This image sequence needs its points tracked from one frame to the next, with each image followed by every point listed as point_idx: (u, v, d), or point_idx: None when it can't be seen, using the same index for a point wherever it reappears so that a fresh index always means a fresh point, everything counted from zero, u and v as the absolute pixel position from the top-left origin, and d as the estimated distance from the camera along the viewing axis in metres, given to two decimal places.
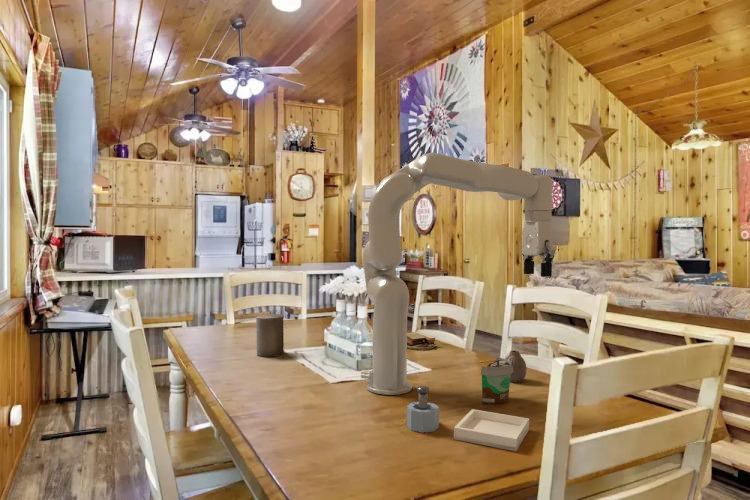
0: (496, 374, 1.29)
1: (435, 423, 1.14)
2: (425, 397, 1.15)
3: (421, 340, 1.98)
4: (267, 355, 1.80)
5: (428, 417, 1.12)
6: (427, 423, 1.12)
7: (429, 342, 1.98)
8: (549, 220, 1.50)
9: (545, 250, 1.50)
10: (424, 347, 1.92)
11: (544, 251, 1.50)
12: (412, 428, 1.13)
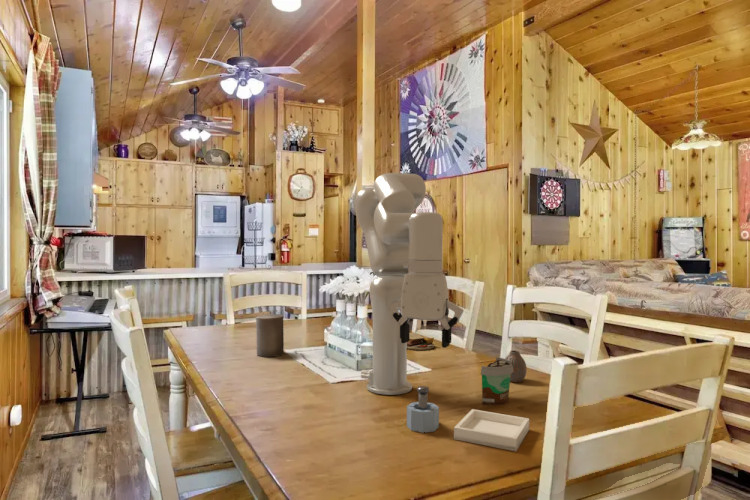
0: (496, 374, 1.29)
1: (435, 423, 1.14)
2: (425, 397, 1.15)
3: (420, 340, 1.98)
4: (267, 355, 1.80)
5: (428, 417, 1.12)
6: (427, 423, 1.12)
7: (427, 342, 1.98)
8: None
9: None
10: (423, 347, 1.92)
11: None
12: (412, 428, 1.13)
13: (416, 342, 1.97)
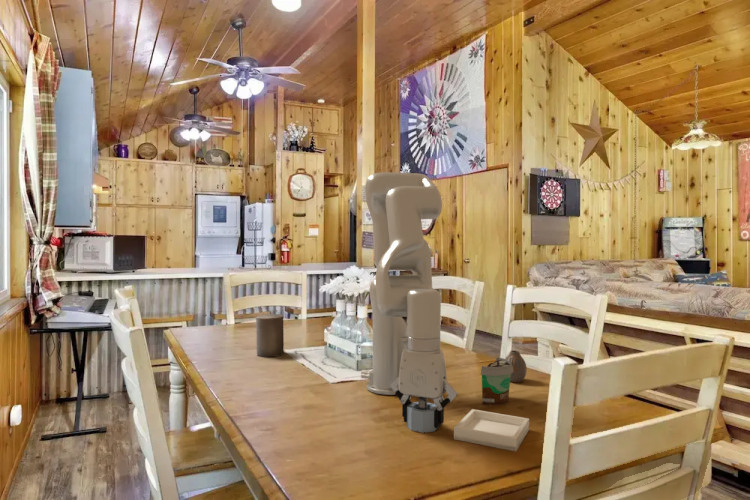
0: (496, 374, 1.29)
1: None
2: None
3: None
4: (267, 355, 1.80)
5: (428, 417, 1.12)
6: (427, 423, 1.12)
7: None
8: None
9: None
10: None
11: None
12: (412, 428, 1.13)
13: None
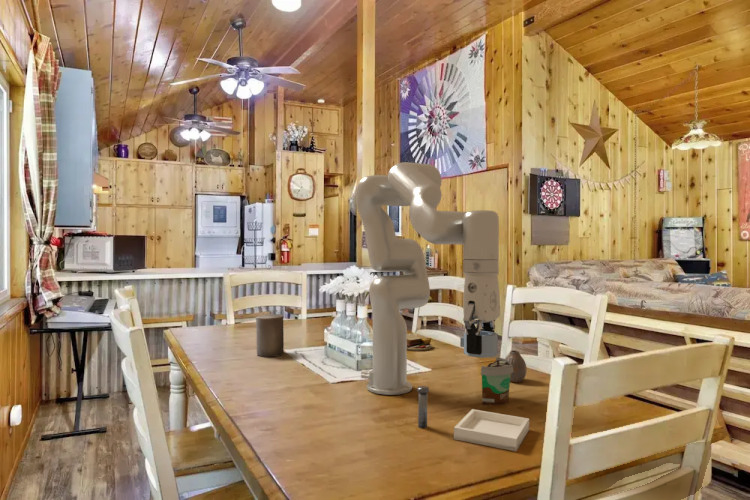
0: (496, 374, 1.29)
1: None
2: (425, 397, 1.15)
3: (417, 341, 1.97)
4: (267, 355, 1.80)
5: None
6: None
7: (425, 343, 1.97)
8: None
9: None
10: (422, 348, 1.91)
11: None
12: (493, 354, 1.09)
13: (414, 343, 1.96)
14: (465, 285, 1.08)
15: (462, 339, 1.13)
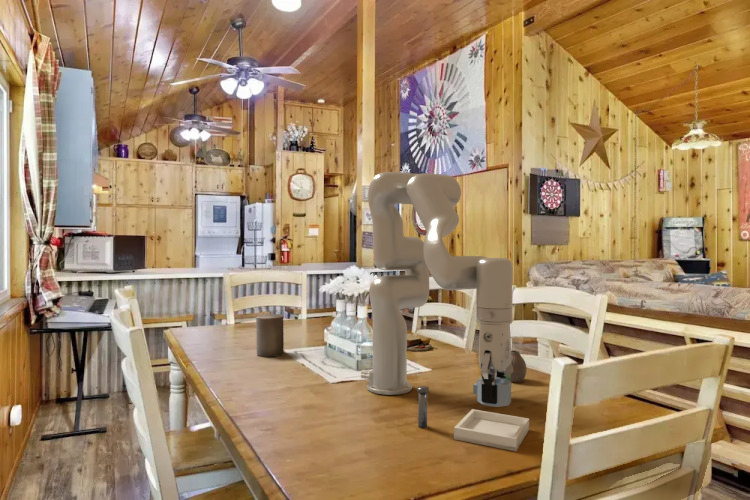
0: None
1: None
2: (425, 397, 1.15)
3: (416, 341, 1.96)
4: (267, 355, 1.80)
5: None
6: None
7: (424, 343, 1.97)
8: None
9: None
10: (421, 348, 1.91)
11: None
12: (508, 403, 1.08)
13: (413, 343, 1.95)
14: (480, 334, 1.08)
15: (475, 386, 1.12)
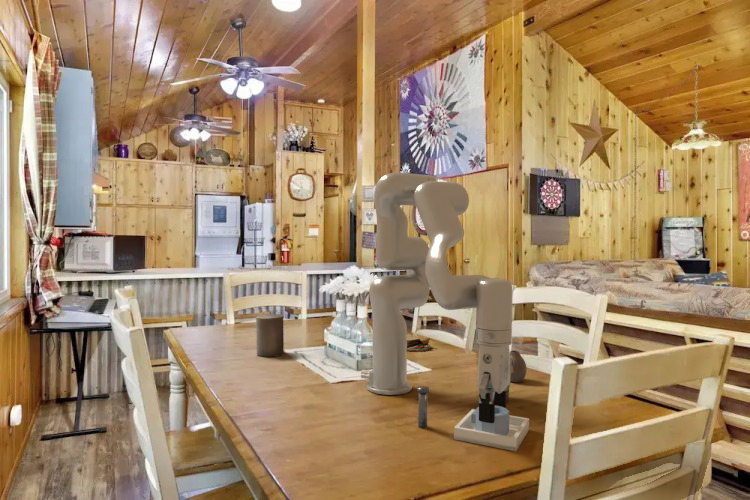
0: None
1: None
2: (425, 397, 1.15)
3: (415, 341, 1.96)
4: (267, 355, 1.80)
5: None
6: None
7: (423, 343, 1.96)
8: None
9: None
10: (421, 348, 1.90)
11: None
12: (506, 433, 1.09)
13: (412, 343, 1.95)
14: (480, 355, 1.08)
15: (473, 415, 1.12)
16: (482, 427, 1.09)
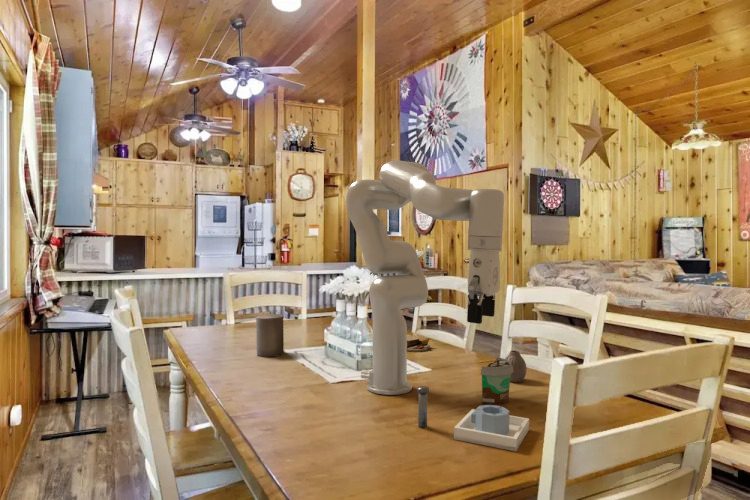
0: (496, 374, 1.29)
1: None
2: (425, 397, 1.15)
3: (415, 341, 1.96)
4: (267, 355, 1.80)
5: None
6: None
7: (423, 343, 1.96)
8: None
9: None
10: (420, 348, 1.90)
11: None
12: (506, 433, 1.09)
13: (412, 343, 1.95)
14: (470, 260, 1.13)
15: (473, 415, 1.12)
16: (482, 427, 1.09)
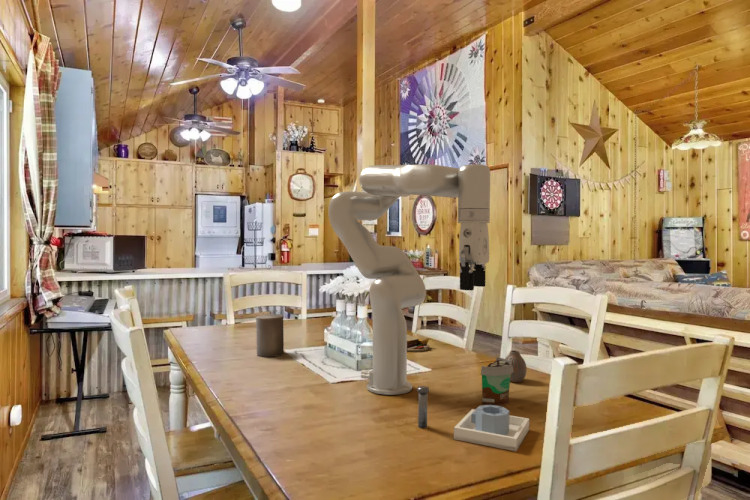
0: (496, 374, 1.29)
1: None
2: (425, 397, 1.15)
3: (414, 342, 1.95)
4: (267, 355, 1.80)
5: None
6: None
7: (422, 343, 1.96)
8: None
9: None
10: (420, 349, 1.90)
11: None
12: (506, 433, 1.09)
13: (411, 343, 1.94)
14: (461, 231, 1.20)
15: (473, 415, 1.12)
16: (482, 427, 1.09)
